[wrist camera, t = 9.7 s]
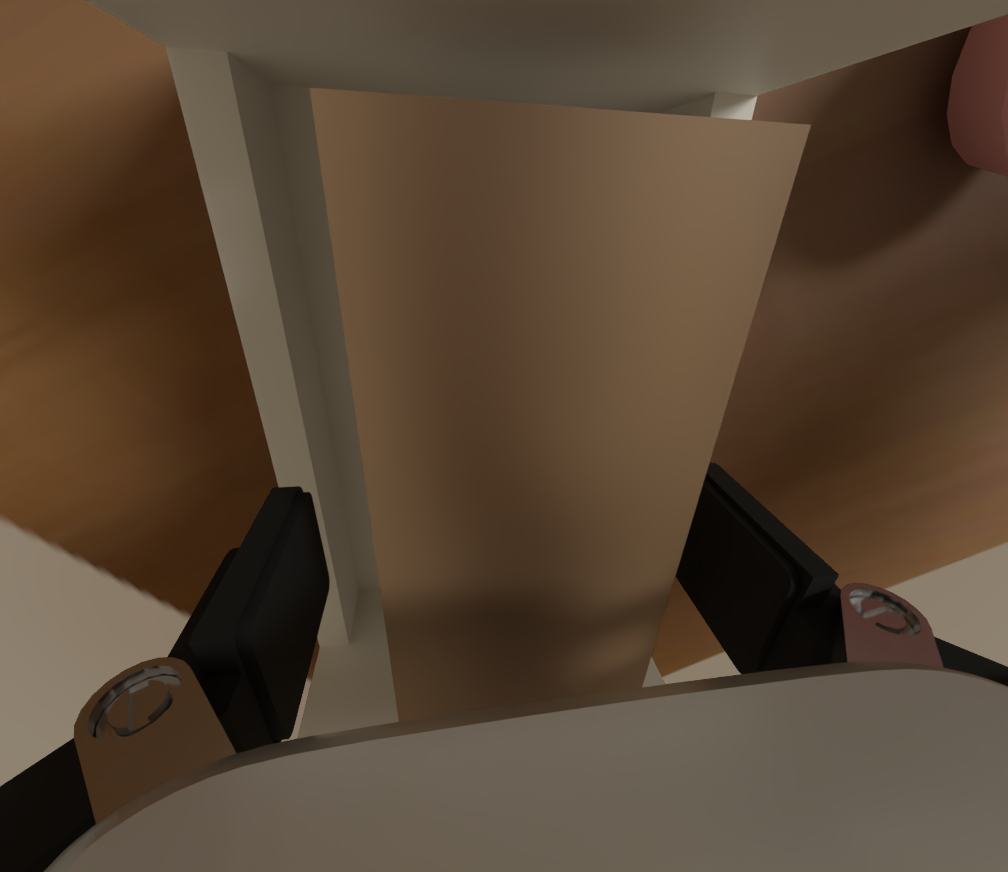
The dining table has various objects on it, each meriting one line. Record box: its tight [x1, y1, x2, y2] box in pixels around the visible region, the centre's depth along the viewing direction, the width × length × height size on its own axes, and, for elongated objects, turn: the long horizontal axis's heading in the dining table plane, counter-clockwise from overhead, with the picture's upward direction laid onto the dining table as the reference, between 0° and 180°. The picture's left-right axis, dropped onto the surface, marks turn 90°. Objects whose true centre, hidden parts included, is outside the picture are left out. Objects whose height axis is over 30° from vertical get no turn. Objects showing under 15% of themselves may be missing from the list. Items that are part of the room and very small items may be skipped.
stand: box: [87, 0, 1008, 739], centre depth 14 cm, size 14×22×11 cm, turn 178°
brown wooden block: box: [310, 88, 811, 722], centre depth 11 cm, size 6×16×5 cm, turn 178°
